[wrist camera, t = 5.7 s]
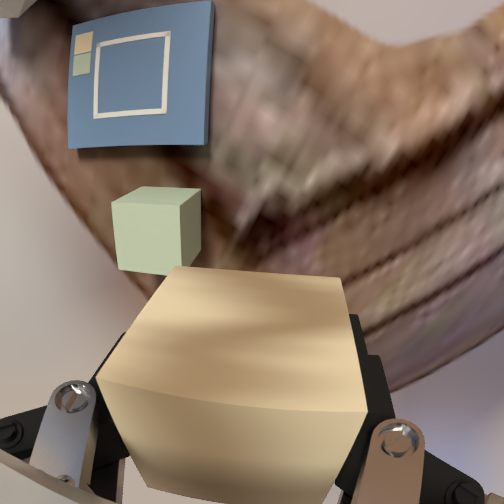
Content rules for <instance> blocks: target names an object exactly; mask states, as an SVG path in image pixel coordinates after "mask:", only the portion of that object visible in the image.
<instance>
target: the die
mask: <svg viewBox="0 0 504 504" xmlns="http://www.w3.org/2000/svg"><path fill="white" fill-rule="evenodd" d="M36 1H37V0H0V18H19V17H20V16H21V15H22V14H23V13H24V12H25V11H26V10H27V9H28V8H29V7H30V6H31V5H32V4H34V3H35V2H36Z"/></svg>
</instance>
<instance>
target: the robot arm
mask: <svg viewBox="0 0 504 504" xmlns="http://www.w3.org/2000/svg"><path fill="white" fill-rule="evenodd" d="M349 318H350V322H351V327H352V331H353V336H354V341H355V346H356V350H357V355H358V360H359V365H360V371H361V376H362V381H363V387H364V392H365V398H366V404H367V410H368V412H367V415H366V417H365V419H364V422H363V424H362V426H361V428H360V431H359V433H358V435H357V437H356V439H355V441H354V444H353V446H352V448H351V450H350V452H349V454H348V456H347V458H346V460H345V462H344V464H343V466H342V468H341V470H340V472H339V474H338V476H337V478H336V479H335V485H336V486H338V487H339V488H340V489H342V491H341V494H340V497H339V500H338V503H337V504H504V497H501V496H499V495H496V494H494V493H490V494H489V495H486V494H484V491H483V488H482V487H481V485H480V484H479V483H478V482H477V481H476V480H474V479H473V478H471V477H469V476H467V475H466V474H464V473H462V472H461V471H459V470H457V469H456V468H454V467H452V466H450V465H449V464H447V463H445V462H444V461H442V460H440V459H439V458H437V457H435V456H434V455H432V454H431V453H429V452H427V451H426V450H425V440H424V435H423V433H422V431H421V430H420V429H419V428H418V427H417V426H416V425H415V424H413V423H412V422H410V421H407V420H404V419H396V418H395V413H394V409H393V405H392V401H391V397H390V393H389V389H388V385H387V381H386V377H385V373H384V370H383V366H382V362H381V359H380V357H379V356H378V355H368V353H367V349H366V344H365V340H364V336H363V333H362V329H361V325H360V321H359V317H358V315H357V314H349ZM132 324H133V323H132ZM125 333H126V332H124V333H123V334H122V335H121V336H120V338H119V339H118V341H117V342H116V343H115V345H114V347H113V348H112V349H111V351H110V352H109V353H108V355H107V356H106V358H105V359H104V361H103V362H102V363H101V365H100V367H99V368H98V369H97V371H96V372H95V374H94V375H93V377H92V378H91V380H90V381H89V382H88V383H86V382H84V381H79V380H76V381H69V382H65V383H63V384H61V385H60V386H58V387H57V388H56V389H55V390H54V391H53V393H52V395H51V397H50V400H49V403H48V405H46V406H43V407H40V408H37V409H33V410H30V411H26V412H23V413H19V414H16V415H12V416H8V417H5V418H3V419H0V504H122V495H123V480H124V468H125V458H126V457H129V456H130V454H129V452H128V450H127V448H126V446H125V444H124V442H123V440H122V438H121V436H120V434H119V431H118V429H117V427H116V425H115V423H114V421H113V418H112V416H111V414H110V412H109V409H108V407H107V405H106V402H105V400H104V397H103V395H102V393H101V390H100V388H99V385H98V383H97V380H96V376H97V374H98V373H99V371H100V370H101V368H102V367H103V365H104V364H105V362H106V361H107V359H108V358H109V356H110V355H111V354H112V352H113V351H114V349H115V348H116V346H117V345H118V343H119V342H120V341H121V339H122V338H123V336H124V335H125Z"/></svg>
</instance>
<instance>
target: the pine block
mask: <svg viewBox="0 0 504 504" xmlns="http://www.w3.org/2000/svg"><path fill="white" fill-rule="evenodd" d="M96 380H97V383H98V385H99V388H100V390H101V393H102V395H103V397H104V400H105V402H106V405H107V407H108V409H109V412H110V414H111V416H112V418H113V421H114V423H115V425H116V427H117V429H118V431H119V434H120V436H121V438H122V440H123V442H124V444H125V446H126V448H127V450H128V452H129V454H130V456H131V458H132V459H133V461H134V463H135V465H136V467H137V469H138V470H139V473H140V474H141V476H142V478H143V480H144V481H145V483H146V485H147V486H148V487H150V488H153V489H157V490H161V491H165V492H169V493H173V494H177V495H182V496H186V497H191V498H196V499H201V500H207V501H212V502H218V503H225V504H322V503H323V501H324V499H325V498H326V496H327V494H328V492H329V490H330V488H331V487H332V485H333V483H334V481H335V479H336V478H337V476H338V474H339V472H340V470H341V468H342V466H343V464H344V462H345V460H346V458H347V456H348V454H349V452H350V450H351V448H352V446H353V444H354V441H355V439H356V437H357V435H358V433H359V431H360V428H361V426H362V424H363V422H364V419H365V417H366V415H367V412H368V410H367V404H366V398H365V392H364V387H363V381H362V376H361V371H360V365H359V360H358V355H357V350H356V346H355V341H354V336H353V331H352V327H351V322H350V318H349V313H348V309H347V305H346V300H345V296H344V292H343V288H342V284H341V280H340V278H334V277H319V276H304V275H290V274H276V273H262V272H249V271H236V270H223V269H210V268H198V267H186V266H174V268H173V269H172V270H171V272H170V273H169V274H168V276H167V277H166V278H165V280H164V281H163V282H162V284H161V285H160V286H159V288H158V289H157V290H156V292H155V293H154V295H153V296H152V297H151V299H150V300H149V301H148V303H147V304H146V306H145V307H144V308H143V310H142V311H141V312H140V314H139V315H138V317H137V318H136V319H135V321H134V322H133V324H132V325H131V326H130V328H129V329H128V331H127V332H126V333H125V335H124V336H123V338H122V339H121V341H120V342H119V343H118V345H117V346H116V348H115V349H114V351H113V352H112V354H111V355H110V356H109V358H108V359H107V361H106V362H105V364H104V365H103V367H102V368H101V370H100V371H99V373H98V374H97V376H96Z"/></svg>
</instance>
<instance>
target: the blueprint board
mask: <svg viewBox="0 0 504 504" xmlns="http://www.w3.org/2000/svg"><path fill="white" fill-rule="evenodd" d="M214 14H215V5H214V3H213V2H212V1H198V2H188V3H179V4H171V5H163V6H157V7H151V8H145V9H139V10H134V11H129V12H124V13H119V14H115V15H111V16H107V17H102V18H99V19H95V20H91V21H87V22H84V23H80V24H77V25H74V26H73V30H72V39H71V50H70V62H69V79H68V149H74V148H88V147H104V146H127V145H205V144H208V127H209V100H210V78H211V59H212V43H213V28H214Z"/></svg>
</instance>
